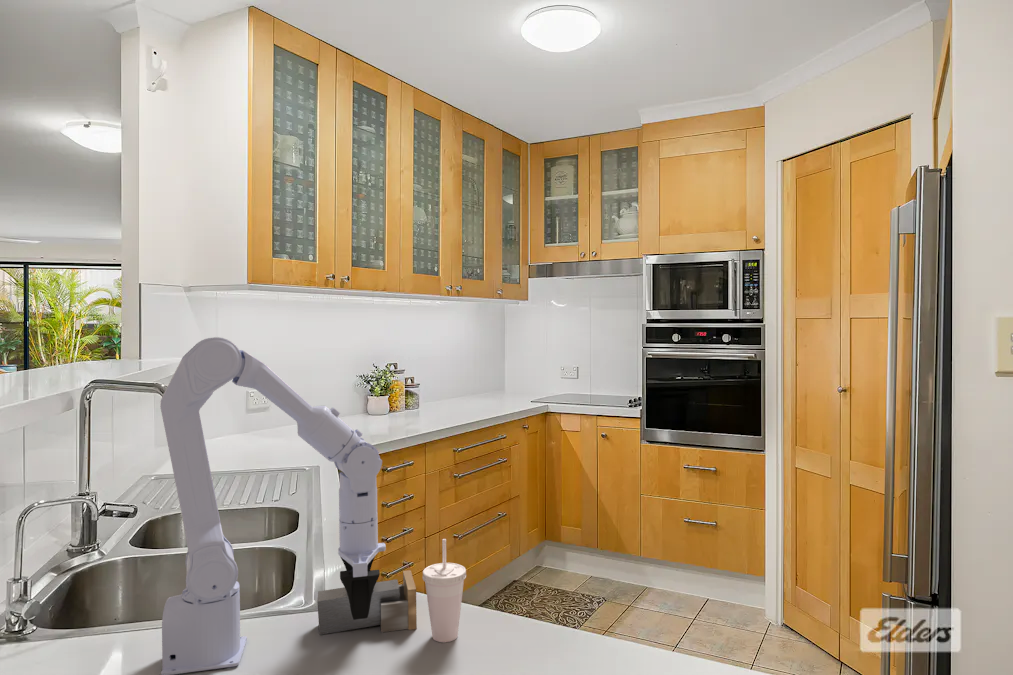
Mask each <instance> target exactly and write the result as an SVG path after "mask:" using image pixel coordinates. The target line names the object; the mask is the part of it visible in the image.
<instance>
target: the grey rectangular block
mask: <svg viewBox="0 0 1013 675" xmlns="http://www.w3.org/2000/svg"><path fill="white" fill-rule="evenodd" d="M398 581H399V580H398V578H397V579H391V580H384V581H377V582H376V584H375V586H374V589H373V593H372V597H371V603H370V610H369V614H368V617H367V618H364V619H356V620H354V619H353V617H352V613H351V609H350V603H349V598H348V594H347V591H346V589H345V587H344V586H343V587H339V588H331V589H326V590H325V589H324V590H319V591H317V599H316V600H317V601H316V602H317V614H318V618H317V619H318V634H319V636H323V635H328V634H332V633H333V634H334V633H340V632H345V631H351V630H355V629H356V630H358V629H361V628H362V629H363V628H369V627H374V626H379V625H381V603H387V602H396V601H400V591H399V585H400V584H399V582H398Z"/></svg>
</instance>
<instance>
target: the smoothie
mask: <svg viewBox="0 0 1013 675" xmlns="http://www.w3.org/2000/svg"><path fill="white" fill-rule="evenodd" d="M441 540H442V541H441V542H442V547H441V548H442V550H441V552H442V562H440V563H439V562H438V563H433V564H431V565H428V566H427V567H425V568H424V569H423V570H422V580H423V582H425V590H426V591H425V592H426V599H427V605H428V606H427V608H428V614H429V622H430V628H431V635H432V639H433V640H434V641H436V642H438V643H450V642H453V641H455V640H456V639H457V638H458V635H459V627H460V618H461V609H462V600H463V590H464V583H465V582H464V581H465V579H466V578H467V569H466V567H465V566H464V565H461V564H459V563H456V562H455V563H454V562H447V539H446V538H443V539H441Z"/></svg>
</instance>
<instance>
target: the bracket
mask: <svg viewBox="0 0 1013 675" xmlns="http://www.w3.org/2000/svg"><path fill="white" fill-rule="evenodd" d="M402 580H403V581H402V583H401V584H398V585H399V591H400V601H396V602H387V603H381V625H380V631H381V633H388V632H393V631H394V632H395V631H402V630H408V631H412V630H417V629H418V628H417V621H418V620H417V587H416V583H415V581H414V577H413V574H412V570H410V569H409V570H408V569H407V570H402Z"/></svg>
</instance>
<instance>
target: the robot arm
mask: <svg viewBox="0 0 1013 675" xmlns="http://www.w3.org/2000/svg"><path fill="white" fill-rule="evenodd" d="M230 381H231V382H232V383H233V384H234V385H236V386H238V387H244V388H248V389H253V390H256V391H258V393H260V394H261V395H262V396H264V397H265V398H266V399H267V400H268V401H270V402H271V403H272V404H274V405H275V406H276V407H278V408H279V409H280V410H281V411H283V412H284V414H287V415H288V416H289V417H290V418H292V419H293V420H295V422H296V425H297V426H296V428H297V435H298V437H299V438H301V439H302V440H303V441H304V442H305V443H307V444H308V445H309V446H311V447H312V448H313V449H314V450H315V451H317V452H318V453H319V454H320V455H322V456H323V457H324V458H325V459H326V460H327V461H329V462H332V463H334V466H335V468H336V470H339V471H341V472H339V489H338V511H339V512H338V514H339V515H338V519H339V520H338V521H339V524H338V525H339V526H338V527H339V528H338V533H339V536H338V537H339V547H338V549H337V550H338V552H337V554H338V556H339V557H340V559H341V561H342V563H343V565H344V567H345V570H341V571H339V578H340V579H339V580H340V581H341V583H342V585H343V588H344V587H345V589H346V591H347V594H348V598H349V603H350V609H351V613H352V617H353V619H354V620H356V619H364V618H367V617H368V614H369V610H370V603H371V597H372V593H373V589H374V586H375V584H376V582H378V580H379V577H380V569H373V570H372V565H373V562H374V560H375V558H376V555H378V554H379V553H380V552H385V551H386V550H387V547H386V543H385V542H379V537H378V536H379V532H378V531H379V530H378V528H379V527H378V523H379V522H378V521H379V520H378V487H377V475H378V474H379V472H380V471H381V469H382V465H383V459H381V456H380V455H379V453H380V452H379V450H378V449H377V447H376V446H374V445H373V444H371V443H369V442H367V441H366V440H365V439H364V438H363V437H362V436H363V432H362V431H360V430H359V429H355V430H354V429H353V428H352V427H351V426H350V425H349V424H347V423H346V422H345V421H344V420H342V418H340V417H339V416H340V414H341V412H340V411H339V410H338V409H336V408H335V407H331V408H329V407H328V406H326V405H316V406H315V405H313V406H312V405H311V404H310V403H309V402H308V401H307V400H305V399H304V397H302V396H301V395H300V394H299V393H298V392H297V391H295V389H293V388H292V386H290V385H289V384H288V383H286V381H284V380H283V378H281V377H280V376H279V375H278V374H277V373H275V371H274V370H272V369H271V368H270V367H269V366H268V365H267V364H265V363H264V362H263V361H261V360H260V359H258V358H257V357H255V356H253V355H252V354H250V353H248V352H247V351H245V350H242V349H239V347H238V346H237V345H236V344H235V343H234V342H232V341H231V340H230V339H226V338H224V337H218V336H217V337H216V336H215V337H208V338H204V339H201V340H200V341H198V342H197V343H196V344H195V345H193V347H192V348H191V349H190V350H188V351H187V352H186V353H185V354H184V355H183V356H182V358H181V360H180V362H179V364H178V366H177V367H176V369H175V372H174V373H173V375H172V378H171V379H170V380H169V383H168V385H167V386H166V388H165V390H164V393H163V395H162V397H161V399H160V411H161V416H162V420H163V427H164V432H165V436H166V441H167V442H166V443H167V446H168V452H169V457H170V462H171V466H172V472H173V476H174V482H175V487H176V492H177V497H178V501H179V506H180V513H181V517H182V522H183V526H184V527H183V528H184V530H185V531H184V532H185V539H186V546H187V551H186V555H185V567H186V568H185V569H186V574H185V575H186V577H185V585H186V586H185V588H184V589H183V590H182V592H181V594H178V595H172V596H169V597H167V599H166V601H165V604H164V607H163V612H162V617H161V618H162V621H161V650H162V652H161V656H162V657H161V658H162V661H161V663H162V670H161V672H160V674H161V675H178V674H179V675H180V674H187V673H195V672H201V671H209V670H216V669H217V670H218V669H223V668H225V669H226V668H231V667H237V666H239V665H240V663H241V660H242V657H243V653H244V650H245V647H246V644H247V641H248V636H246V635H245V636H244V635H243V636H241V602H240V601H241V597H240V596H241V593H240V592H241V591H240V582H239V581H238V577H239V568H238V565H237V562H236V561H235V557H234V554H235V553H234V552H235V551H234V547H233V545H232V544H231V542H230V541H229V540H228V539H227V537H225V535H224V533H223V528H222V527H223V526H222V523H221V518H220V513H219V507H218V502H217V498H216V497H217V496H216V491H215V487H214V482H213V476H212V473H211V466H210V461H209V455H208V452H207V446H206V440H205V435H204V431H203V426H202V425H203V424H202V421H201V415H200V410H201V408H202V407H203V406H204V405H205V404H206V402H207V401H208V400H209V399H210V398H211V396H212V395H213V394H214V393H215V391H217V390H219V389H220V388H221V387H223V386H225V385H226V384H228V383H229V382H230Z"/></svg>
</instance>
